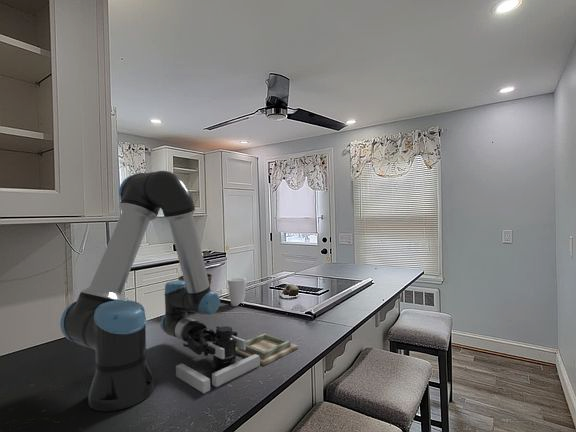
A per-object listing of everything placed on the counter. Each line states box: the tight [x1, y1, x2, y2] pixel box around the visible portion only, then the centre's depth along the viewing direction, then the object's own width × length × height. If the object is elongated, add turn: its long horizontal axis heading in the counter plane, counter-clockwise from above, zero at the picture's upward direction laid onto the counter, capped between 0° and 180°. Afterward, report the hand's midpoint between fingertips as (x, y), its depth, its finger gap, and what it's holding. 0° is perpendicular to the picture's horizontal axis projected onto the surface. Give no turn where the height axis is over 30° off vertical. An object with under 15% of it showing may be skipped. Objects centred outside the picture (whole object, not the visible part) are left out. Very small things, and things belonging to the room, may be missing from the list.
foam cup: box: [227, 276, 247, 307], centre depth 167 cm, size 10×9×13 cm
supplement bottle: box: [212, 325, 237, 373], centre depth 98 cm, size 7×7×12 cm
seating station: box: [236, 333, 299, 366], centre depth 111 cm, size 16×16×2 cm
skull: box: [281, 282, 300, 296], centre depth 181 cm, size 12×10×10 cm
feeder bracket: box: [175, 354, 261, 394], centre depth 97 cm, size 20×14×3 cm
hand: (234, 349), depth 95 cm, fingers open, 7 cm apart
